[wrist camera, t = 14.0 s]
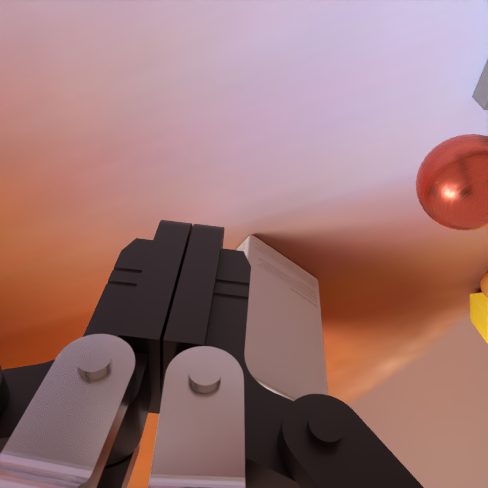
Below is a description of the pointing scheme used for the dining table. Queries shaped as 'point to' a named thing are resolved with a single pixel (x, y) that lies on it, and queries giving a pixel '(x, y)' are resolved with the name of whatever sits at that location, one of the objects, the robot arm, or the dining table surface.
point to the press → (482, 89)
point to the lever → (456, 182)
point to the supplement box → (283, 324)
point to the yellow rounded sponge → (480, 308)
